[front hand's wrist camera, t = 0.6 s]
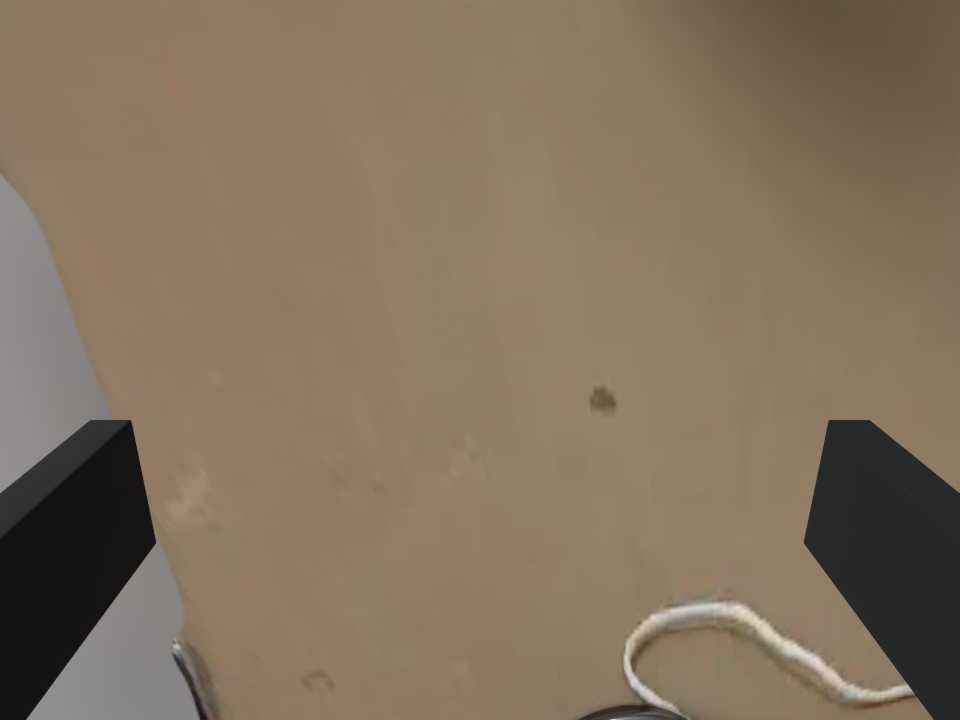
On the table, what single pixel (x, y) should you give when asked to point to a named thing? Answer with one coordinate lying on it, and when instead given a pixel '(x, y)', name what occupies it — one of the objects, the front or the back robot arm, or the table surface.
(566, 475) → the table surface
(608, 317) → the table surface
